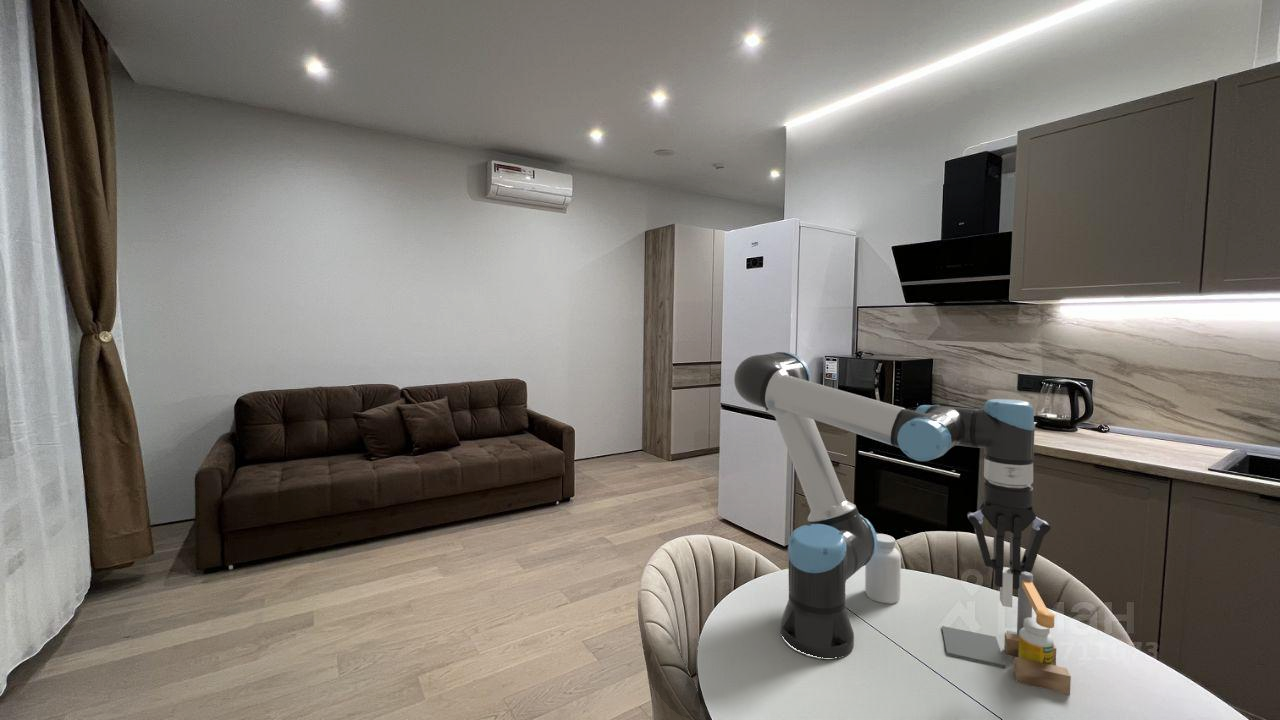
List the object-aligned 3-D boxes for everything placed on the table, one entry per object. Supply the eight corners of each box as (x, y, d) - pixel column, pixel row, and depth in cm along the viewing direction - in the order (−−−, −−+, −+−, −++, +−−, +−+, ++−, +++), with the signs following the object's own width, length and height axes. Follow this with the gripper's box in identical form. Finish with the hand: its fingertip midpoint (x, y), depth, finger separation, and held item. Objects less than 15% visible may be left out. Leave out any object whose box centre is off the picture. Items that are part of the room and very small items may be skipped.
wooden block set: (1016, 682, 97) (1017, 664, 97) (998, 632, 112) (998, 616, 112) (1070, 694, 93) (1070, 676, 93) (1043, 641, 109) (1044, 625, 108)
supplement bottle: (1024, 657, 104) (1026, 612, 103) (1057, 672, 99) (1058, 624, 99) (1013, 667, 101) (1014, 621, 100) (1046, 683, 96) (1047, 634, 96)
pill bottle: (901, 592, 129) (902, 535, 128) (898, 608, 122) (899, 547, 121) (867, 584, 133) (868, 528, 132) (862, 599, 127) (863, 540, 125)
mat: (946, 654, 105) (946, 652, 105) (941, 627, 114) (941, 625, 114) (1005, 667, 101) (1005, 665, 101) (995, 638, 110) (995, 636, 110)
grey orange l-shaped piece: (1036, 685, 94) (1038, 611, 93) (1015, 634, 110) (1016, 570, 109) (1053, 689, 93) (1056, 615, 92) (1029, 637, 109) (1032, 572, 108)
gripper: (970, 484, 96) (968, 606, 97) (1057, 492, 90) (1054, 621, 92) (964, 473, 102) (963, 587, 104) (1045, 480, 97) (1042, 600, 98)
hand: (1005, 603), depth 98 cm, fingers closed
